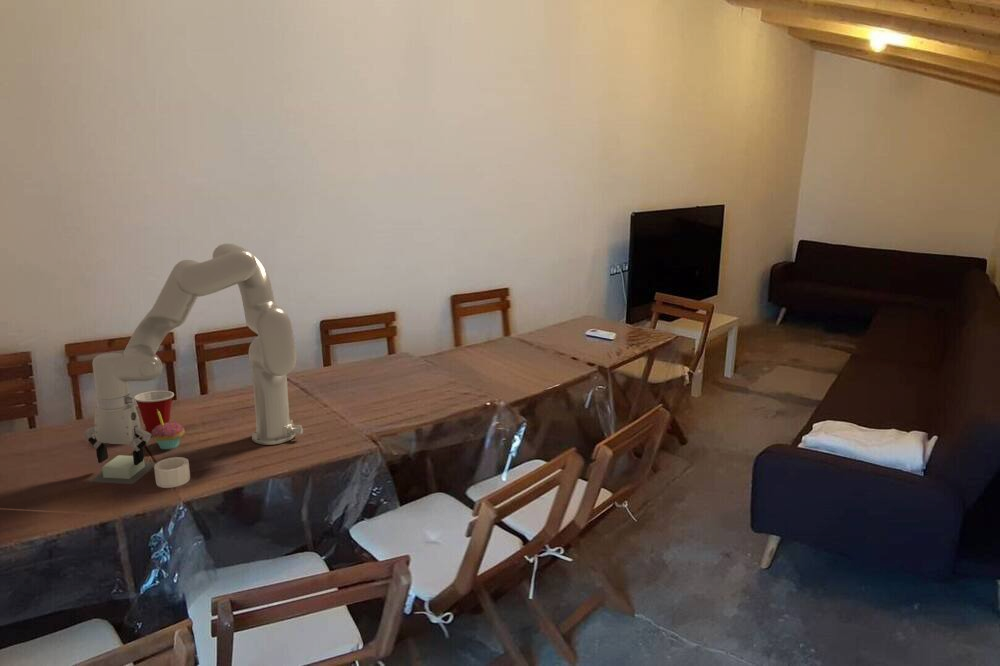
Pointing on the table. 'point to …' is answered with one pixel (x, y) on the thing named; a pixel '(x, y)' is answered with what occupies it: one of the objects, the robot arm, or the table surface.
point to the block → (121, 467)
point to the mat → (124, 481)
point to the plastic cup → (154, 407)
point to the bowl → (172, 472)
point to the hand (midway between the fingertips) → (121, 461)
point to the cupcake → (167, 434)
